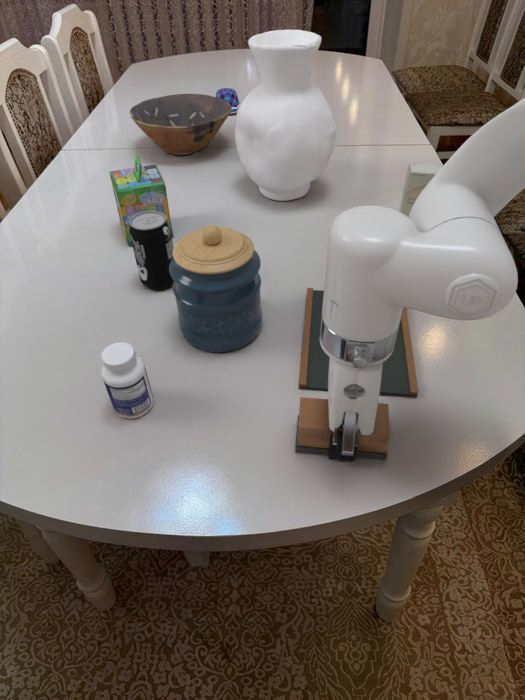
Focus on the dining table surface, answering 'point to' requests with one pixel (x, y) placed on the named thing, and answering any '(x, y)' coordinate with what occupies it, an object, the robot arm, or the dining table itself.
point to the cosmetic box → (416, 183)
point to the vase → (284, 117)
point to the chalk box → (139, 193)
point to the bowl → (181, 121)
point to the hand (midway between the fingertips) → (341, 438)
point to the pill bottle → (126, 380)
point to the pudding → (229, 97)
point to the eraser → (317, 432)
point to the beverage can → (152, 248)
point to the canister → (217, 288)
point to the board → (316, 362)
